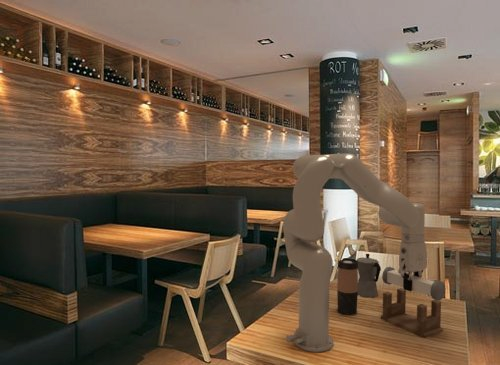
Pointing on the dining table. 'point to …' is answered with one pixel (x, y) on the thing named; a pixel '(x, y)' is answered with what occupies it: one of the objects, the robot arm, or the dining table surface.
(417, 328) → the walnut rack
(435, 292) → the white bar grey caps
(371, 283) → the coffeepot
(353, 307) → the travel mug
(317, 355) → the dining table surface
